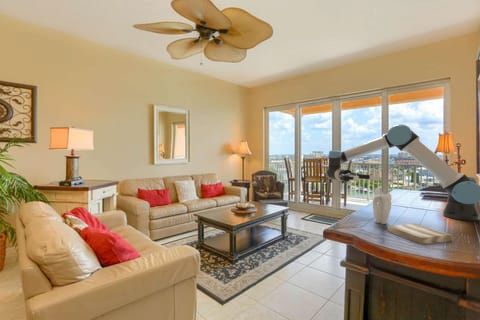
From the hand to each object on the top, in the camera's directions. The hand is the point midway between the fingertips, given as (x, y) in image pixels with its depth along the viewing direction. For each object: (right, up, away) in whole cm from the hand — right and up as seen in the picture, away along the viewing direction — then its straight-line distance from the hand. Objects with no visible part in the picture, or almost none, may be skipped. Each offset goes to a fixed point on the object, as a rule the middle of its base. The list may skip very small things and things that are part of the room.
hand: (368, 178), depth 134 cm
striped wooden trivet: (+7, -23, -28) cm, 37 cm away
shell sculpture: (+2, -22, -8) cm, 24 cm away
